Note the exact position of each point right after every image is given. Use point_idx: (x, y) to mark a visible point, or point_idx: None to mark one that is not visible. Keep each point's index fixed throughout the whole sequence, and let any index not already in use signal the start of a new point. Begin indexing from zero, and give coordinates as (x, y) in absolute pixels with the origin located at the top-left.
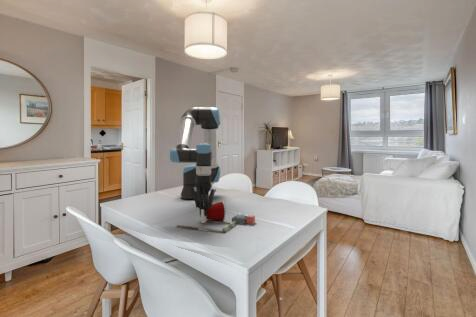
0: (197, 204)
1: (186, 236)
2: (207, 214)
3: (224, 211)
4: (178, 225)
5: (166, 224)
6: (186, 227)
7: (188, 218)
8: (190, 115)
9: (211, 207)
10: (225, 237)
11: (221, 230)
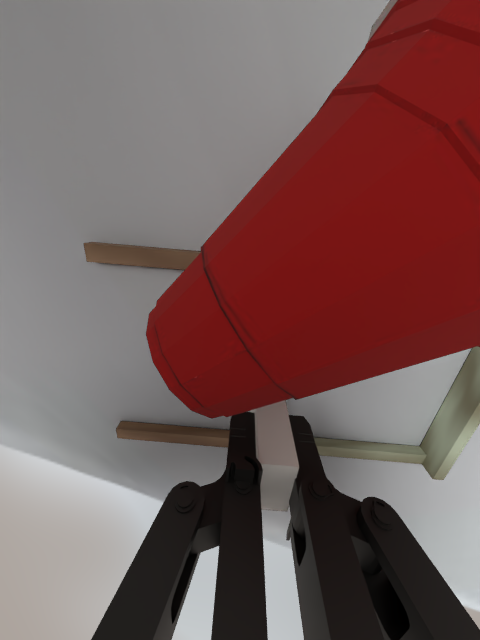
0: (187, 584)
1: None
2: (309, 428)
3: None
4: (125, 432)
5: (20, 396)
6: (189, 441)
7: (8, 190)
8: None
9: (352, 382)
10: (435, 495)
11: (415, 455)
